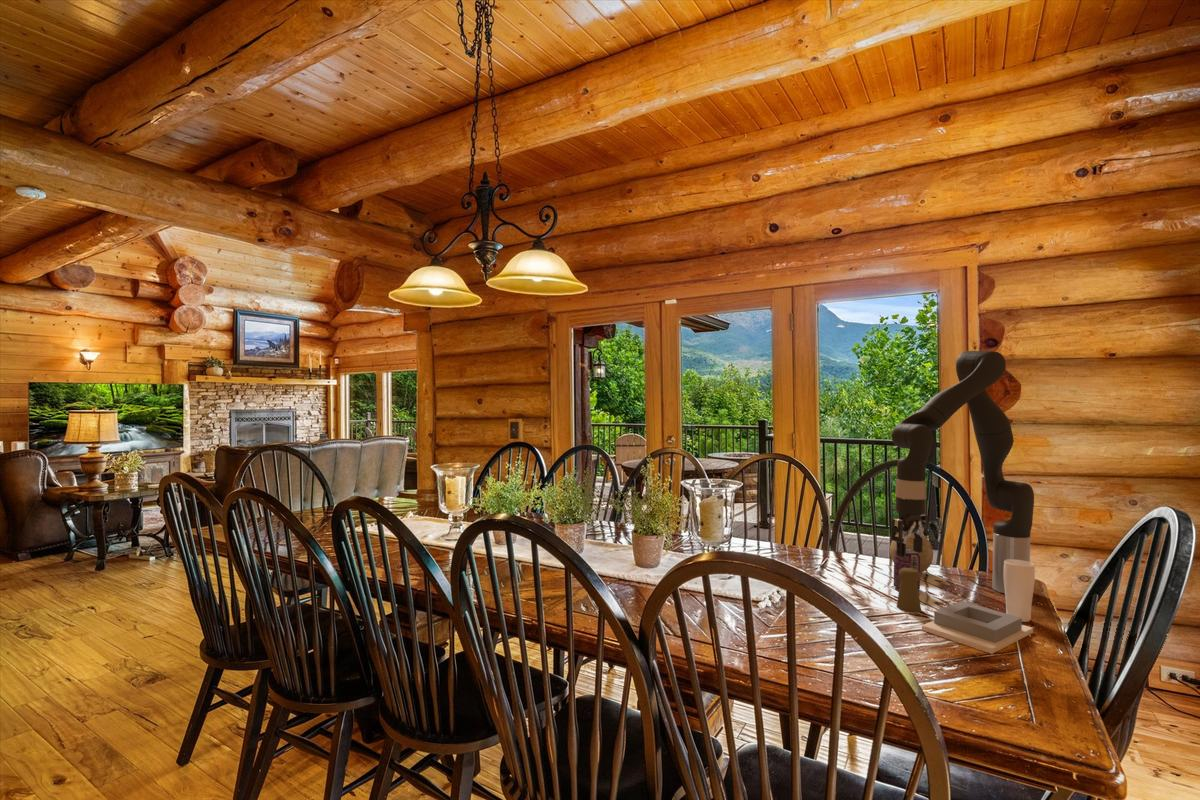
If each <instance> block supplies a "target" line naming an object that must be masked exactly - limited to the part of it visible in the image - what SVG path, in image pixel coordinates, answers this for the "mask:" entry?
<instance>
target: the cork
mask: <svg viewBox="0 0 1200 800" xmlns="http://www.w3.org/2000/svg"><path fill="white" fill-rule="evenodd" d="M899 578H900V579H901V582H900V588H899V589H898V596H897V602H896V608H897V609H898V610H901V611H904V612H908V613H920V612H921V611H922V607H921V600H920V599H921V598H920V593H919V592H920V591H919V590H920V589H919V590H918V581H919V579H920V580H921V573H920V574H919V572H918V571H917V570H915V569H912V568H902V569H900V571H899Z"/></svg>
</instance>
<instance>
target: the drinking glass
mask: <svg viewBox="0 0 1200 800" xmlns="http://www.w3.org/2000/svg"><path fill="white" fill-rule="evenodd" d="M1035 569H1036V568H1035V563H1032V562H1031V561H1030V562H1027V561H1022V560H1014V559H1008V560H1004V571H1003V574H1004V588H1005V594H1004V596H1005V613H1006V614H1009V615H1013V616H1016V617H1020V618H1022V623H1027V622H1030V621H1031V619H1032V618H1031V617H1032V614H1031V613H1032V606H1033V605H1032V604H1033V599H1034V598H1033V597H1034V589H1035V581H1036V580H1035V579H1036V570H1035Z"/></svg>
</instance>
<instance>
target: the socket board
mask: <svg viewBox="0 0 1200 800" xmlns="http://www.w3.org/2000/svg"><path fill="white" fill-rule="evenodd" d="M933 612H934V613H933V614H934V615H933V620H932V621H929V622H927V623H924V624H922V625H921V631H924V632H926V633H928V634H929V633H930V634H933V635H935V636H938V637H941V638H944V639H947V640H949V641H953V642H956V643H959V644H961V645H964V646H967V647H971V648H973V649H977V650H980V651H981V652H986V653H988V654H990V655H992V654H994V653H996V652H998V651H1000V650H1002V649H1004V648H1006V647H1008V646H1010V645H1011V644H1014V643H1016V642H1018V641H1019V640H1022V639H1023V638H1025V637H1028V636H1030V635H1032V634H1033V633H1034V627H1031V626H1028V625H1024V624H1022V623H1023V622H1022V618H1020V617H1016V616H1013V615H1009V614H1006V612H1001V611H998V610H995V609H991V608H989V607H988V608H987V607H984V606H981V605H979V604H978V605H977V604H974V603H970V602H967V601H964V600H961V601H959V602H955V603H953V604H950V605H947V606H945V607H943V608H940V609H938V610H934V611H933Z"/></svg>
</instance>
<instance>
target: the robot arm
mask: <svg viewBox="0 0 1200 800" xmlns="http://www.w3.org/2000/svg"><path fill="white" fill-rule="evenodd" d="M1006 368H1007V362H1006V359H1005V357H1004V356H1003V354H1002V353H1000V352H998V351H995V350H966V351H962V352H961V353H960V354H959V355H958V357H957V359H956V361H955V371H956V376H957V379H958V381H959V382H957V383H955V384H953V385H951V386H949V387H947V388H945V389H943V390H941V391H940V392H938V393H936V394H935V395H934V396H932V397H931V398H930V399H929V400H928V401H927V402H926V403H925V404H924V405H923V406H922V407H920V409H919V410H917V411H915V412H914V413H912V414H911V415H909V416H907V417H905V418H904V419H902V420H901V421H900V422H898V423H896V425H895V426H894V428H893V429H892V432H891V441H892V443H893V444H894V446H896V447H898V448H900V449H906V450H907V449H908V450H909V451H908V454H907V457H901V458H899V459H898V460H897V464H896V465H897V466H896V483H895V499H894V500H895V503H894V505H895V509H894V511H895V512H896V513H898V514H899V518H892V521H891V538H890V539H891V541H892V540H893V541H895V542H897V556H900V557H905V556H906V544H905V543H906V541H907V538H908V537H910V535H911V533H912V534H913V536H914V537H915V538H914V542H913V550H914V551H915V552H919V553H921V552H922V550H923V539H924V536H926V537H928V535H929V532H928V531H929V530H928V529H929V527H928V525H929V522H928V521H929V519H928V518H929V516H928V515H927V514H926V513H927V485H926V471H927V467H926V466H927V463H928V460H929V457H930V454H931V451H932V447H933V444H934V434H933V432H932V431H936V430H938V429H940V428H941V427H943V425H944V424H946V422H948V421H949V420H950V418H951V417H952V416H953V415H954V414H955V413H956V412H958V410H960V409H961V408H962V407H963V406H964V405H966V404H967V407H968V411H969V415H970V419H971V422H972V426H973V432H974V436H975V437H974V438H975V441H976V444H977V447H978V451H979V455H980V458H981V463H982V468H983V469H982V470H983V478H984V485H985V486H984V487H985V493H986V499H987V501H988V503H989V505H990V506H991V507H992V508H993V509H995V510H999V511H1003V512H1010V513H1011V518H1010V519H1008V520H1003V521H996V522H994V524H993V529H992V532H993V533H992V576H991V577H992V579H991V581H992V585H991V586H992V590H994V591H996V592H999V593H1001V594H1004V595H1005V588H1004V574H1003V571H1004V560H1008V559H1014V560H1022V561H1027V562H1030V563H1031V531H1032V528H1033V519H1034V509H1035V491H1034V489H1033V487H1032V486H1031V485H1030V484H1029V483H1026V482H1022V481H1021V482H1020V481H1013V480H1006V479H1005V477H1004V474H1003V473H1004V472H1003V465H1004V463H1005V460H1006V458H1007V457H1008V456H1009V453H1010V452H1011V450H1012V448H1013V446H1014V441H1015V440H1014V435H1013V431H1012V425H1011V422H1010V420H1009V417H1008V416H1007V414H1006V413H1005V412H1004V411H1003V410H1002V408H1001V407H1000V406H999V405H998V404H997V403H996V402H995V401H994V399H993V398H991V396H990V394H989V393H988V391H987V389H988V388H989V387H991V386H992V385H994V384H995V383H997V382H998V381H999V380H1000V379H1001V378H1002V377H1003V375H1004V374H1005V372H1006ZM895 536H896V537H895ZM903 536H904V537H903ZM902 537H903V539H902Z"/></svg>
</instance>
